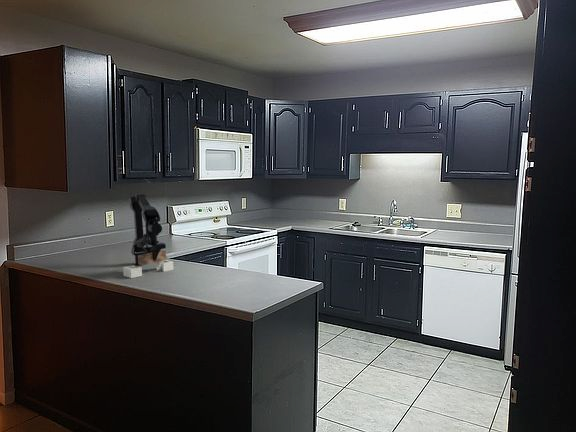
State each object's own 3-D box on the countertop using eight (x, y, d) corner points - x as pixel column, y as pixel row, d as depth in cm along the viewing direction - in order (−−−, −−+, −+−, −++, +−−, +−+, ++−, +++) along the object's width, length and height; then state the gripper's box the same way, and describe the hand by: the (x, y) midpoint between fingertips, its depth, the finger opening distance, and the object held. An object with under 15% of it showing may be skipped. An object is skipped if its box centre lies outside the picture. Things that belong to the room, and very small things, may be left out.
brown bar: (162, 259, 260) (161, 250, 259) (166, 259, 258) (166, 251, 257) (138, 264, 247) (137, 255, 246) (142, 265, 245) (141, 256, 244)
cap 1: (123, 275, 245) (123, 267, 244) (134, 273, 249) (133, 265, 249) (131, 278, 239) (130, 269, 239) (142, 275, 244) (141, 267, 243)
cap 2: (155, 269, 259) (155, 261, 258) (165, 267, 263) (165, 259, 263) (163, 271, 253) (163, 263, 253) (173, 269, 258) (173, 261, 257)
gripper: (128, 232, 251) (130, 260, 253) (146, 235, 238) (148, 265, 240) (147, 229, 259) (148, 257, 261) (165, 232, 246) (167, 261, 248)
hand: (152, 260), depth 252 cm, fingers closed on brown bar, 4 cm apart
